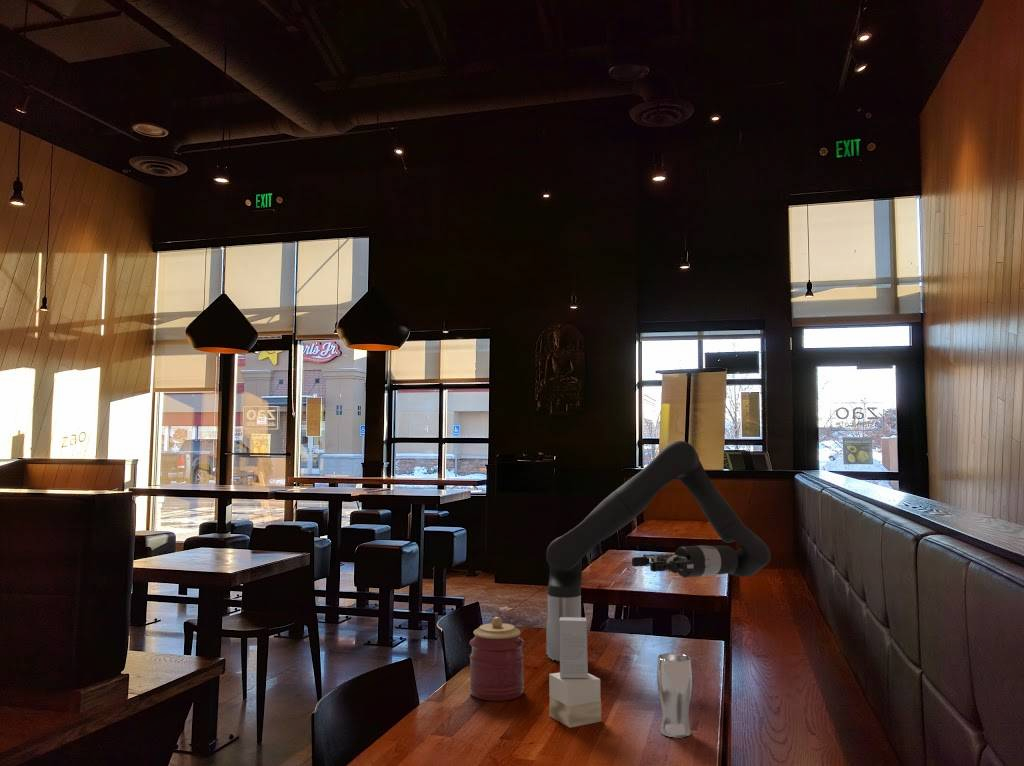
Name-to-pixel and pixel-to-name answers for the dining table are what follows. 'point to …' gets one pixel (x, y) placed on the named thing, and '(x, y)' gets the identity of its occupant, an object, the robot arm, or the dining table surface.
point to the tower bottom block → (575, 713)
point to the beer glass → (674, 693)
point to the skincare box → (573, 647)
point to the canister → (496, 662)
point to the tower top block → (574, 689)
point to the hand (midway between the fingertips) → (641, 564)
